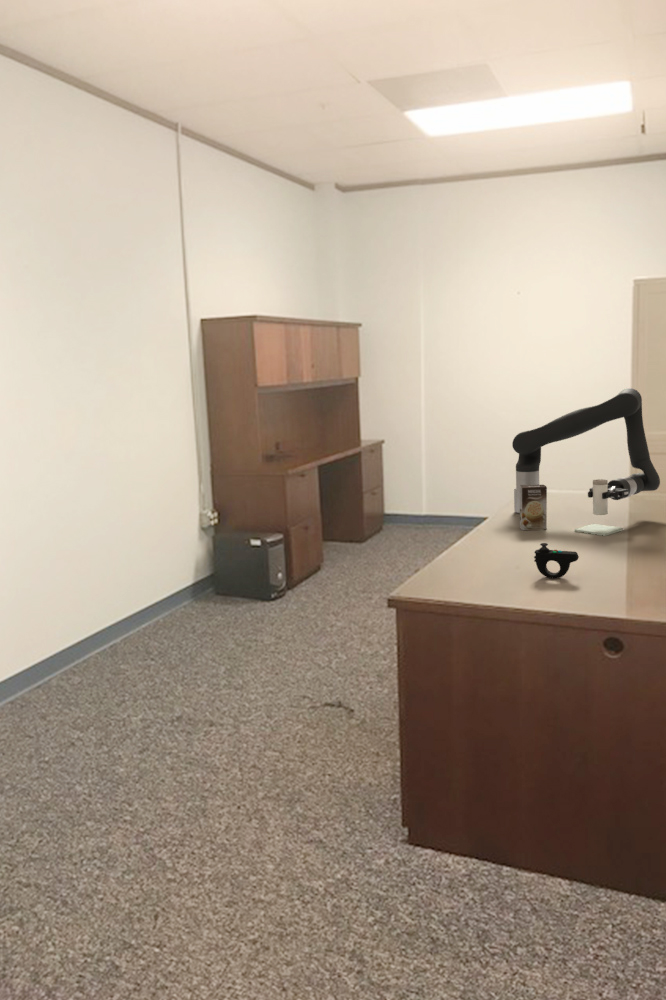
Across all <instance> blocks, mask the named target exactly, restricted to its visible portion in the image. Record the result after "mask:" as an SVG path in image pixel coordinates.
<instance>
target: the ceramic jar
mask: <svg viewBox="0 0 666 1000" xmlns="http://www.w3.org/2000/svg"><path fill="white" fill-rule="evenodd" d="M608 483H609V481H608V479H602V478H601V479H599V478H598V479H592V487H593V497H592V514H593V515H596V516H605V515H606V516H607V515H608V514H609V513H608V507H609V506H608V505H609V502H608V500H609V498H607V499H602V493H604V492H607V491H608Z"/></svg>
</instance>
